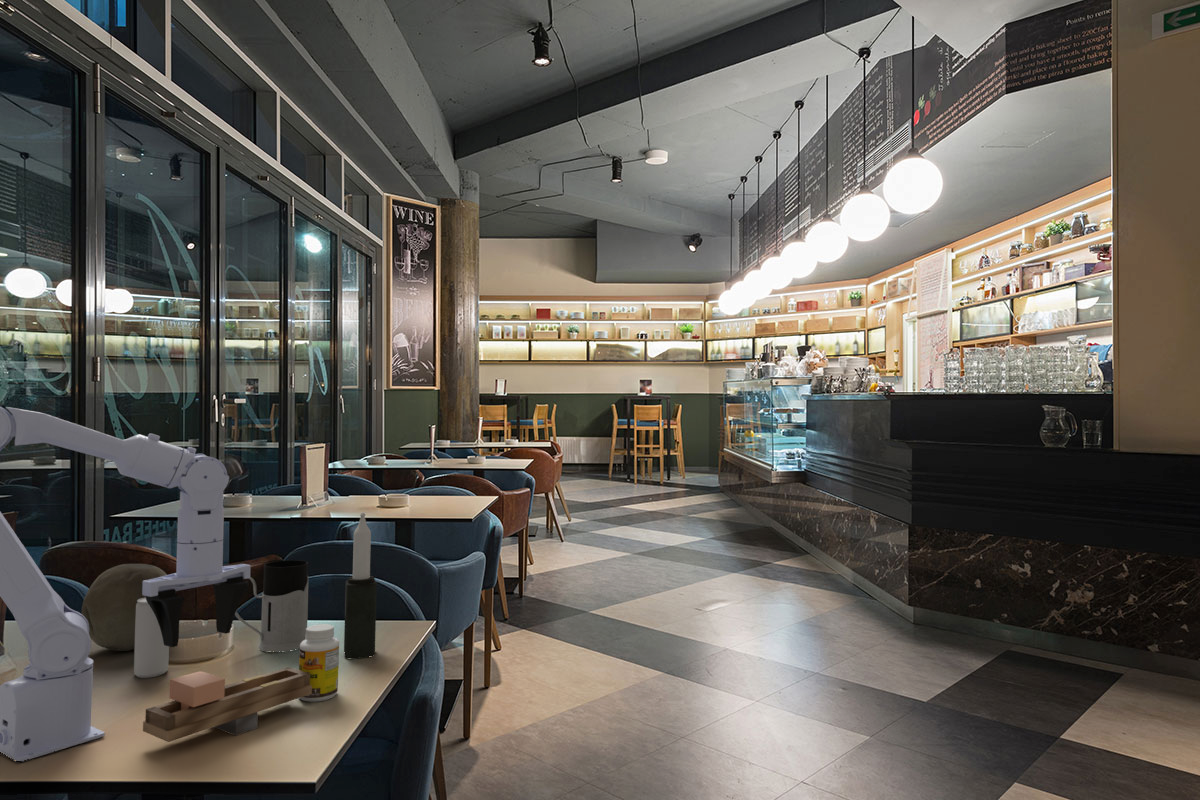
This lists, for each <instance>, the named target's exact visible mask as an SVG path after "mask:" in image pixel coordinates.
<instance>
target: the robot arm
mask: <svg viewBox="0 0 1200 800" xmlns="http://www.w3.org/2000/svg"><path fill="white" fill-rule="evenodd" d="M13 438H15V439H14V446H15V447H17V446H25V445H34V444H48V445H52V446H56V447H59V448H63V449H67V450H70V451H74V452H78V453H82V454H85V455H89V456H94V457H96V458H99V459H104V460H107V461H111V462H113V463H114V465H115V467H116V469H117V471H118V472H119V474H120V475H122V476H124V477H128V478H132V479H136V480H139V481H143V482H145V483H149V484H152V485H157V486H159V487H160V486H161V487H163V488H167V489H173V488H176V487H178V489H179V490H180V491H179V507H178V508H177V509H178V510H177V533H176V534H177V537H176V542H177V543H176V566H175V567H176V570H175V571H176V572H174V573H170V574H167V575H166V576H162V577H158V578H154V579H150V580H144V581H143V587H142V595H144V596H146V601H147V602H148V604H149V605H150V607H151V609H152V610H153V612H154V614H155V616H156V618H157V621H158V624H159V626H160V630H161V633H162V637H163V642H164V645H165V646H169V648H175V647H178V645H179V639H180V619H181V614H182V613H181V612H182V610H183V605H184V602H185V599H186V598H185V597H183V596H180V595H178V593H177V591H183V590H187V589H188V590H189V589H192V588H199V587H204V586H209V585H212V588H213V593H214V598H215V607H216V610H215V612H216V613H215V615H216V616H215V617H216V619H215V624H216V626H215V628H216V632H217V633H221V634H229V633H230V632H231V629H232V625H233V622H234V618H235V617H236V615H235V613H236V611H237V610H238V607H239V604H241V603H240V602H241V601H242V599H243V597H244V595H245V594H246V592H247V591H248V589H249V581H248V580H246V579H248V578H250V577H251V564H246V563H239V564H233V565H224V566H223V563H224V562H223V560H224V558H223V556H224V525H225V524H224V522H225V519H224V518H225V517H224V516H225V507H224V506H223V505H224V499H225V498H224V496H225V495H224V491H225V489H226V488H227V486H228V485H229V481H230V476H229V475H228V471H227V468H226V466H225V464H223V462H222V461H220V459H217V458H216V457H212V456H207V455H206V454H204V453H196V452H197V448H195V447H192V446H188V447H187V448H183V447H181V446H178V445H175V444H171V443H167V442H165V441H161V440H160V438H161V436H160V435H157V434H155V433H149V434H148V435H147V436H146V435H143V434H140V433H139V434H135V435H133V436H130V437H128V438H126V439H123V438H122V439H121V438H118V437H115V436H112V435H110V434H106V433H104V432H101V431H98V430H94V429H92V428H88V427H86V426H83V425H80V424H78V423H74V422H70V421H68V420H64V419H62V418H59V417H56V416H53V415H50V414H47V413H43V412H39V411H33V410H28V409H21V408H16V407H9V406H5V408H4V407H2V406H0V452H1V451H2V450H4V449H5V447H6V446H7V445H8V444H9V443H10V442H11V441H12V439H13ZM0 598H1V599H2V601H3V602H4V604H5V605H6V606H7V608H8V609H9V611H10V613H11V614H12V615H13V617H14V620H15V622H16V625H17V628H18V629H19V631H20V634H21V635H22V637H23V638H24V639H25V641H26V643H27V648H28V650H27V658H28V661H29V664H28V665H26V666H25V667H24V668H23V674H22V675H21V676H19V677H17V678H15V679H12V680H9V681H5V682H3V683H1V684H0V752H2V753H4V754H5V755H7V756H9V757H10V759H11V758H12V759H14V760H16V761H22V762H25V761H24V760H26V761H28V760H27V759H29V760H31V759H35V758H38V757H41V756H44V755H47V754H51V753H55V752H58V751H61V750H63V749H64V750H65V749H67V748H71V747H73V746H77V745H79V744H83V743H84V744H85V743H87V742H90V741H92V740H96V739H99V738H102V737H104V736H105V734H106V732H105V731H103V730H101V729H99V728H96V727H95V726H92V705H93V701H92V700H93V679H94V659H92V658H90V657H89V656H90V655H89V654H90V652H91V649H92V640H91V638H90V636H89V624H88V621H87V620H86V618H85V617H84V616H83V615H82V614H81V613H80V612H79V611H76V610H74V609H72V608H71V607H69V606H68V605H67V604H66V602H65V601H64V600H63V598H62V597H61V596H60V595H59V594H58V593H57V592H56V591H55V590H54V588H53V587H52V585H51V584H50V583H49V581H48V580H47V578H46V577H45V575H44V574H43V572H42V570H41V569H40V568H39V567H38V564H36V562H35V560H34V559H33V557H32V556H31V555H30V553H29V552H28V550H27V548H26V547H25V545H24V544H23V543H22V542H21V540H20V538H19V537H18V536H17V534H16V533H15V531H14V529H13V528H12V526H11V525H10V523H9V522H8V521H7V519H6V518H5V516H4V515H3V513H2V511H0ZM54 751H55V752H54ZM2 753H1V754H2ZM4 754H3V755H4ZM5 755H4V756H5ZM7 756H6V757H7ZM9 757H8V758H9ZM12 759H11V760H12ZM14 760H13V761H14ZM16 761H15V762H16Z"/></svg>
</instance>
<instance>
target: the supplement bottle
mask: <svg viewBox="0 0 1200 800" xmlns="http://www.w3.org/2000/svg"><path fill="white" fill-rule="evenodd" d="M305 636H306V639H305V640H304V641H302V642H301V644H300V649H299V655H298V656H299V659H298V660H299V661H298V670H300V671H304V672H307V673H310V685H312V694H310V695H307V696H304V697H301V698H299V699H300V700H302V701H304V702H309V703H310V702H312V703H316V702H323V701H327V700H330V699H333V698H334V697H335V696H336V695H338V694H337V693H338V691H339V688H338V687H339V660H340V659H339V658H340V657H339V656H340V641H339V639H338V638H336V637H335V627H334V625H333V624H332V625H331V624H327V623H326V624H325V623H324V624H323V623H322V624H320V623H319V624H314V625H310V626H307V628H306V635H305Z"/></svg>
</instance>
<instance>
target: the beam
mask: <svg viewBox="0 0 1200 800" xmlns="http://www.w3.org/2000/svg"><path fill="white" fill-rule="evenodd" d="M310 694H312V685H310V673H307V672H304V671H300V670H299V669H296V668H292V667H290V666H287V667H285V668H281V669H277V670H275V671H270V672H267V673H264V674H260V675H254V676H251V677H248V678H243V679H242V680H239V681H236V682H233V683H230V684H227V685H226V684H225V692H224V698H222V699H219V700H215V701H212V702H209V703H206V704H202V705H199V706H196V707H190V708H187V709H184V710H181V702H178V701H175V700H172V701H168V702H165V703H162V704H159V705H156V706H152V707H148V708H146V709H145V717H144V718H145V720H143V722H142V732H144V733H146V734H148V735H151V736H154V737H155V738H158V739H160V740H163V741H165V742H167V743H170V742H174V741H176V740H179V739H182V738H185V737H187V736H188V737H189V736H191V735H193V734H197V733H201V732H203V731H207V730H209V729H211V728H215V729H217V730H221V731H223V732H226V733H228V734H231V735H233V736H238V735H242V734H244V733H247V732H250V731H252V730H255V729H258V715H259V714H258V713H259V712H262V711H265V710H268V709H271V708H274V707H277V706H280V705H282V704H286V703H289V702H292V701H294V700H297V699H298V700H299V699H300V698H301V697H304V696H307V695H310Z"/></svg>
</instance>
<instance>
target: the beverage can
mask: <svg viewBox="0 0 1200 800" xmlns="http://www.w3.org/2000/svg"><path fill="white" fill-rule="evenodd" d="M137 602H138V603H137V605H136V619H135V649H134V652H133V653H134V655H133V657H134V658H133V659H134V661H133V673H134V675H135V676H136V678H137V677H138V678H142V679H150V678H155V677H159V676H161V675H164V674H165V673H166V672H167V671H168V669H169V660H170V658H169V656H170V654H169V652H170V647H169V646H165V645H164V642H163V637H162V633H161V630H160V626H159V624H158V621H157V618H156V616H155V614H154V612H153V610H152V609H151V607H150V605H149V604H148V602H147V601H146V597H145V598H141V599H139V600H137Z"/></svg>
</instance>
